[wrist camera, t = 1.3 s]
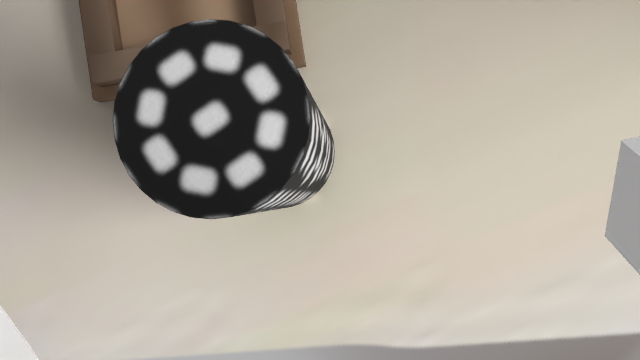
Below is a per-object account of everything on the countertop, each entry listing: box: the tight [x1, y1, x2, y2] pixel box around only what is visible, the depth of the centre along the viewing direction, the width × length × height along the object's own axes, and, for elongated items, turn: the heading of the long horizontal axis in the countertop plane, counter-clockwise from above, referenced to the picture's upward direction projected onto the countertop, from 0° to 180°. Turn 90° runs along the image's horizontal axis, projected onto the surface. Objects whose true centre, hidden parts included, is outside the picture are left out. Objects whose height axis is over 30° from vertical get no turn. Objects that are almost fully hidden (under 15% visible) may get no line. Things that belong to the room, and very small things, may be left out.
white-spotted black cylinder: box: [113, 19, 335, 219], centre depth 35 cm, size 8×8×20 cm
